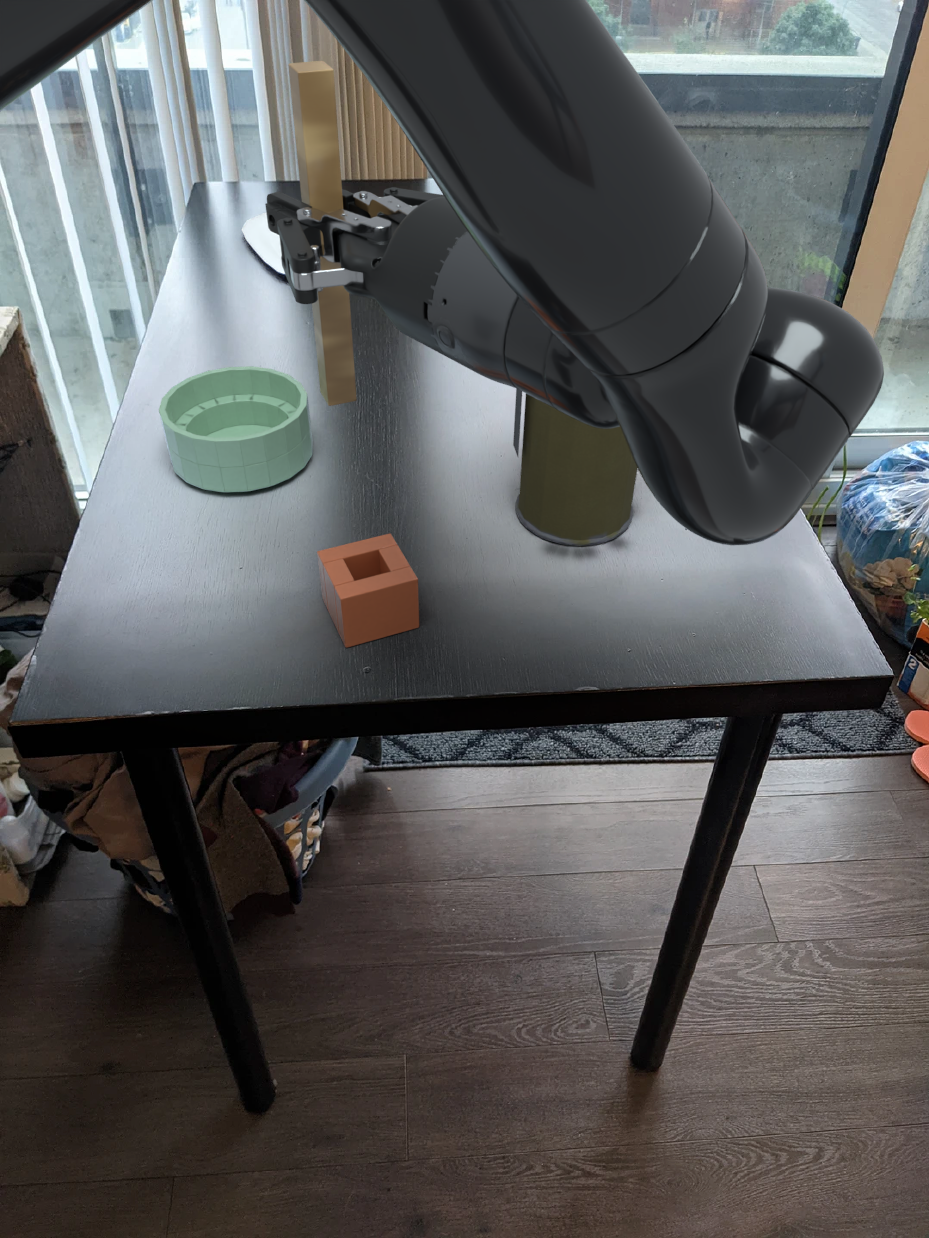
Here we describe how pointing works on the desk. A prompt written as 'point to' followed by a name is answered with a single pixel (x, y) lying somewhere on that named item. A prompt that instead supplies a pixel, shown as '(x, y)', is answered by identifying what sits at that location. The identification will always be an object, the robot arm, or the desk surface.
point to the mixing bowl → (237, 428)
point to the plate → (264, 241)
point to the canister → (572, 477)
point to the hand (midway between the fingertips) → (294, 204)
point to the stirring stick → (325, 194)
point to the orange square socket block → (369, 589)
